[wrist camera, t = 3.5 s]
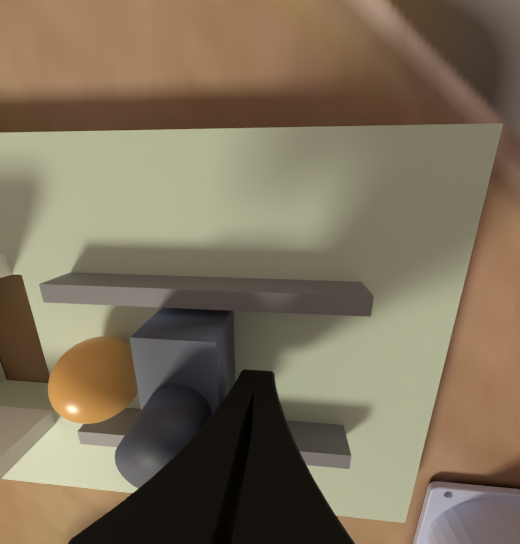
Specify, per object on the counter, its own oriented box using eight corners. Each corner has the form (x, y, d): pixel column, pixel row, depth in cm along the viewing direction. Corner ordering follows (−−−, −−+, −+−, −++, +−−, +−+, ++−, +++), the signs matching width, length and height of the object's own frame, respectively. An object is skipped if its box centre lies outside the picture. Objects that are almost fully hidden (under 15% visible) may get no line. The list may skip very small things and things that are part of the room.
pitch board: (464, 135, 11) (549, 108, 7) (391, 484, 16) (419, 561, 13) (-126, 144, 13) (-271, 127, 10) (-8, 445, 19) (-73, 501, 15)
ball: (43, 384, 8) (33, 341, 11) (67, 463, 9) (52, 409, 12) (151, 342, 11) (122, 315, 13) (160, 410, 12) (132, 373, 14)
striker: (233, 304, 11) (196, 384, 7) (236, 413, 13) (208, 538, 8) (167, 302, 12) (86, 377, 7) (179, 408, 13) (120, 527, 9)
